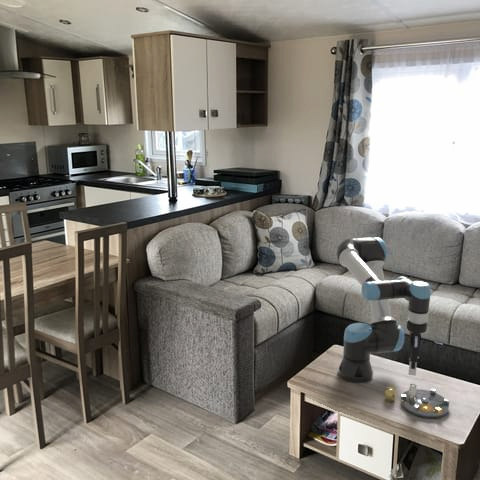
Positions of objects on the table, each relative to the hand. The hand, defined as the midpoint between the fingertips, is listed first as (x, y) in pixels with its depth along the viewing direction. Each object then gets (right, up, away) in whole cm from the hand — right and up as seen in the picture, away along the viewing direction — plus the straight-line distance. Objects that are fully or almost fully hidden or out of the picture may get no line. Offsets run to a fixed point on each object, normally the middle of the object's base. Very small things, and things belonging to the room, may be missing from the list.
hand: (412, 374), depth 204 cm
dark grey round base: (+5, -13, -1) cm, 13 cm away
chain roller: (-8, -12, +3) cm, 15 cm away
